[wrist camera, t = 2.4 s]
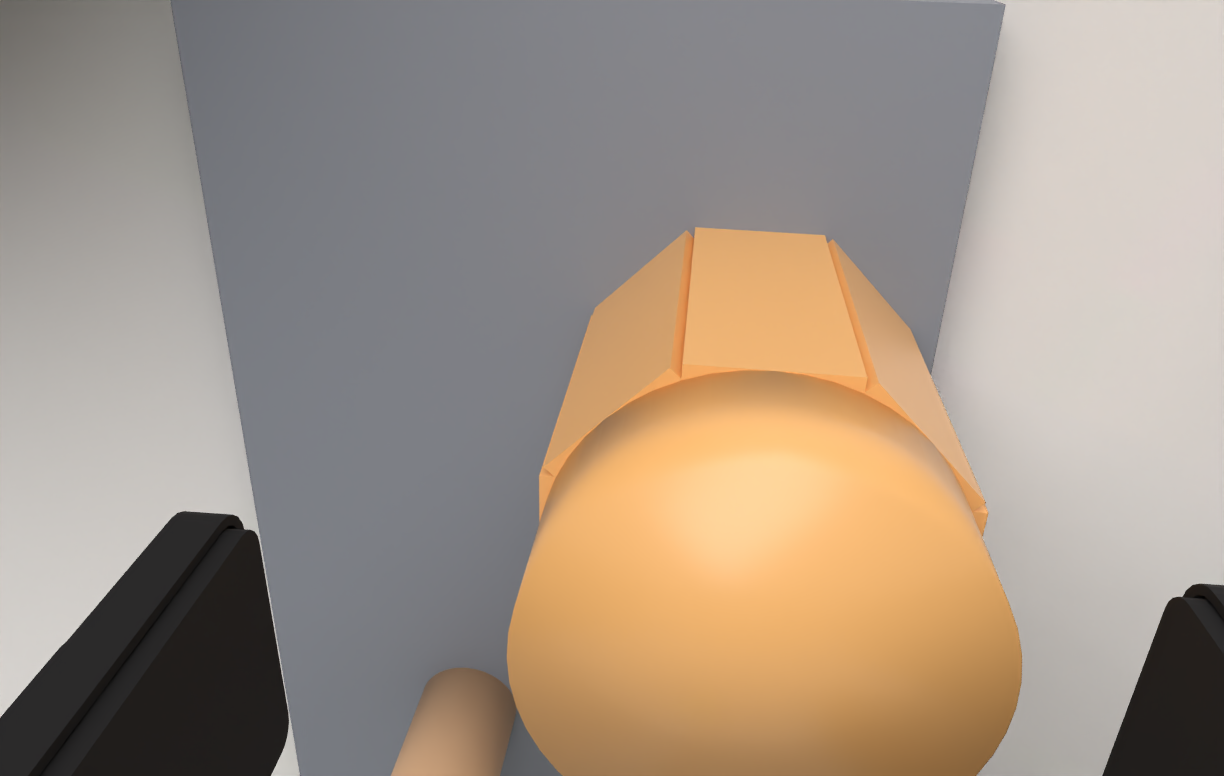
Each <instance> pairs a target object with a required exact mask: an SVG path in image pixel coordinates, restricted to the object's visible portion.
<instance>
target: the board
mask: <svg viewBox="0 0 1224 776" xmlns="http://www.w3.org/2000/svg"><path fill="white" fill-rule="evenodd" d="M171 6H172V12H173V18H174V24H175V30H176V36H177V42H178V48H179V54H180V60H181V66H182V72H183V78H184V84H185V90H186V96H187V102H188V108H189V114H190V120H191V126H192V132H193V138H194V144H195V150H196V156H197V162H198V167H199V173H200V179H201V185H202V191H203V197H204V203H205V209H206V215H207V221H208V227H209V233H210V239H211V245H212V251H213V257H214V263H215V269H216V275H217V281H218V287H219V293H220V299H221V305H222V311H223V317H224V323H225V329H226V335H227V341H228V347H229V353H230V359H231V365H232V371H233V377H234V383H235V389H236V395H237V401H238V407H239V413H240V419H241V425H242V430H243V436H244V442H245V448H246V454H247V460H248V466H249V472H250V478H251V484H252V490H253V496H254V502H255V508H256V514H257V520H258V526H259V532H260V538H261V544H262V550H263V556H264V562H265V568H266V574H267V580H268V586H269V592H270V598H271V604H272V610H273V616H274V622H275V628H276V634H277V640H278V646H279V652H280V658H281V664H282V670H283V676H284V682H285V688H286V693H287V699H288V705H289V711H290V717H291V723H292V729H293V735H294V741H295V747H296V753H297V759H298V765H299V771H300V776H562V775H561V774H560V773H559V772H558V771H557V770H556V769H555V768H554V766H553V765H552V764H551V763H550V762H549V760H548V759H547V758H546V757H545V756H544V755H543V753H542V752H541V751H540V750H539V748H538V746H537V745H536V743H535V742H534V740H533V739H532V737H531V736H530V734H529V732H528V731H527V729H526V727H525V725H524V723H523V721H522V718H521V716H520V714H519V712H518V710H517V707H516V704H515V701H514V697H513V694H512V690H511V687H510V683H509V675H508V666H507V643H508V631H509V627H510V623H511V618H512V614H513V610H514V606H515V603H516V600H517V596H518V593H519V590H520V586H521V583H522V580H523V576H524V573H525V570H526V566H527V563H528V560H529V556H530V553H531V550H532V546H533V543H534V540H535V536H536V533H537V530H538V526H539V475H540V472H541V469H542V466H543V462H544V459H545V456H546V453H547V450H548V447H549V444H550V441H551V438H552V435H553V432H554V429H555V426H556V423H557V419H558V416H559V413H560V410H561V407H562V404H563V401H564V398H565V395H566V392H567V389H568V386H569V383H570V380H571V377H572V373H573V370H574V367H575V364H576V361H577V358H578V355H579V352H580V349H581V346H582V343H583V340H584V337H585V334H586V330H587V327H588V324H589V321H590V318H591V315H593V312H594V309H595V307H597V306H598V305H599V304H600V303H601V302H603V301H604V300H605V299H606V298H607V297H608V296H610V295H611V294H612V293H613V292H614V291H615V290H617V289H618V288H619V287H620V286H621V285H623V284H624V283H625V282H626V281H627V280H628V279H630V278H631V277H632V276H633V275H634V274H636V273H637V272H638V271H639V270H640V269H641V268H643V267H644V266H645V265H646V264H647V263H648V262H650V261H651V260H652V259H653V258H654V257H656V256H657V255H658V254H659V253H660V252H661V251H663V250H664V249H665V248H666V247H667V246H669V245H670V244H671V243H672V242H673V241H674V240H676V239H677V238H678V237H679V236H680V235H681V234H683V233H684V232H685V231H686V230H687V231H688V232H689V233H690V234H691V236H692V237H693V238H694V235H695V227H699V228H715V229H731V230H748V231H764V232H781V233H797V234H814V235H825V237H826V241H827V243H829V242H830V241H831V240H832V239H833V240H834V241H835V242H836V243H837V244H838V245H839V247H840V248H841V249H842V250H843V251H844V252H845V254H846V255H847V256H848V257H849V258H850V259H851V261H852V262H853V263H854V264H855V265H856V266H857V268H858V269H859V270H860V271H861V272H862V273H863V275H864V276H865V277H866V278H867V279H868V280H869V282H870V283H871V284H872V285H873V286H874V287H875V289H876V290H877V291H878V292H879V293H880V294H881V296H882V297H883V298H884V299H885V300H886V301H887V303H888V304H889V305H890V306H891V307H892V308H893V310H894V311H895V312H896V313H897V314H898V315H899V317H900V318H901V319H902V320H903V321H904V322H905V324H906V325H907V326H908V327H909V328H910V329H911V332H912V334H913V336H914V339H915V341H916V343H917V345H918V348H919V350H920V352H921V355H922V357H923V359H924V362H925V364H926V366H927V369H928V371H929V373H930V375H931V371H932V366H933V361H934V356H935V351H936V346H937V341H938V336H939V332H940V327H941V322H942V317H943V312H944V307H945V302H946V297H947V292H948V287H949V282H950V277H951V272H952V267H953V262H954V257H955V252H956V247H957V242H958V238H959V233H960V228H961V223H962V218H963V213H964V208H965V203H966V198H967V193H968V188H969V183H970V178H971V173H972V168H973V163H974V158H975V153H976V148H977V144H978V139H979V134H980V129H981V124H982V119H983V114H984V109H985V104H986V99H987V94H988V89H989V84H990V79H991V74H992V69H993V64H994V59H995V54H996V50H997V45H998V40H999V35H1000V30H1001V25H1002V20H1003V15H1004V10H1005V4H1003V3H1000V2H997V1H994V0H171Z"/></svg>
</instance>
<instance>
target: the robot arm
mask: <svg viewBox="0 0 1224 776" xmlns="http://www.w3.org/2000/svg"><path fill="white" fill-rule="evenodd" d="M288 725H289V717H288V709H287V703H286V697H285V691H284V685H283V679H282V674H281V668H280V662H279V656H278V650H277V644H276V638H275V632H274V626H273V621H272V615H271V609H270V603H269V597H268V591H267V585H266V579H265V574H264V568H263V562H262V556H261V550H260V544H259V540H258V536H257V535H256V533H255V532H254V531H252V530H244V528H243V524H242V522H241V521H240V519H239V518H238V517H237V516H235V515H228V514H214V513H200V512H186V511H183V512H180V513H177V514H176V515H175V516H174V517H172V518H171V519H170V520H169V522H168V523H167V524H166V525H165V526H164V528H163V529H162V530H161V531H160V532H159V533H158V535H157V536H156V537H155V538H154V539H153V541H152V542H151V543H150V544H149V545H148V546H147V548H146V549H145V550H144V551H143V552H142V553H141V555H140V556H139V557H138V558H137V559H136V561H135V562H134V563H133V564H132V565H131V566H130V568H129V569H128V570H127V571H126V572H125V573H124V575H123V576H122V577H121V578H120V579H119V581H118V582H117V583H116V584H115V585H114V586H113V588H112V589H111V590H110V591H109V592H108V594H107V595H106V596H105V597H104V598H103V599H102V601H101V602H100V603H99V604H98V605H97V606H96V608H95V609H94V610H93V611H92V612H91V614H90V615H89V616H88V617H87V618H86V619H85V621H84V622H83V623H82V624H81V625H80V627H79V628H78V629H77V630H76V631H75V632H74V634H73V635H72V636H71V637H70V638H69V639H68V641H67V642H66V643H65V644H63V645H62V646H61V647H60V648H59V649H58V651H57V652H56V653H55V654H54V655H53V656H52V658H51V659H50V660H49V661H48V662H47V663H46V665H45V666H44V667H43V668H42V669H41V671H40V672H39V673H38V674H37V675H36V676H35V678H34V679H33V680H32V681H31V682H30V683H29V685H28V686H27V687H26V688H25V689H24V690H23V692H22V693H21V694H20V695H19V696H18V698H17V699H16V700H15V701H14V702H13V703H12V705H11V706H10V707H9V708H8V709H7V710H6V712H5V713H4V714H3V715H2V716H1V718H0V776H271V774H272V772H273V770H274V768H275V766H276V764H277V762H278V760H279V758H280V755H281V753H282V751H283V748H284V746H285V742H286V739H287V733H288ZM1103 776H1224V585H1211V584H1196V585H1192V586H1191V587H1190V588H1189V589H1188V590H1186V592H1185V594H1184V596H1183V597H1175V598H1172V599H1171V600H1170V601H1169V602H1168V604H1167V606H1166V607H1165V610H1164V612H1163V615H1162V618H1161V620H1160V623H1159V626H1158V628H1157V631H1156V634H1155V636H1154V639H1153V642H1152V644H1151V647H1150V650H1149V653H1148V655H1147V658H1146V661H1145V663H1144V666H1143V669H1142V671H1141V674H1140V677H1139V679H1138V682H1137V685H1136V687H1135V690H1134V693H1133V695H1132V698H1131V701H1130V703H1129V706H1128V709H1127V711H1126V714H1125V717H1124V719H1123V722H1122V725H1121V727H1120V730H1119V733H1118V735H1117V738H1116V741H1115V743H1114V746H1113V749H1112V751H1111V754H1110V757H1109V759H1108V762H1107V765H1106V767H1105V770H1104V773H1103Z"/></svg>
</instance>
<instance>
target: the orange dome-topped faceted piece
mask: <svg viewBox="0 0 1224 776" xmlns="http://www.w3.org/2000/svg"><path fill="white" fill-rule="evenodd" d="M985 503H986V502H985V500H984V497H983V495H982V493H981V491H980V488H979V486H978V484H977V481H976V479H975V477H974V474H973V472H972V470H971V468H970V465H969V463H968V461H967V458H966V456H965V454H964V451H963V449H962V447H961V445H960V442H959V440H958V438H957V435H956V433H955V431H954V428H953V426H952V424H951V421H950V419H949V417H948V415H947V412H946V410H945V408H944V405H943V403H942V401H941V398H940V396H939V394H938V392H937V389H936V387H935V385H934V382H933V380H932V378H931V375H930V373H929V371H928V369H927V366H926V364H925V362H924V359H923V357H922V355H921V352H920V350H919V348H918V345H917V343H916V341H915V339H914V336H913V334H912V332H911V329H910V328H909V327H908V326H907V325H906V324H905V322H904V321H903V320H902V319H901V318H900V317H899V315H898V314H897V313H896V312H895V311H894V310H893V308H892V307H891V306H890V305H889V304H888V303H887V301H886V300H885V299H884V298H883V297H882V296H881V294H880V293H879V292H878V291H877V290H876V289H875V287H874V286H873V285H872V284H871V283H870V282H869V280H868V279H867V278H866V277H865V276H864V275H863V273H862V272H861V271H860V270H859V269H858V268H857V266H856V265H855V264H854V263H853V262H852V261H851V259H850V258H849V257H848V256H847V255H846V254H845V252H844V251H843V250H842V249H841V248H840V247H839V245H838V244H837V243H836V242H835V241H834V240H833V239H832V240H831V241H830V242H829V243H827V241H826V237H825V235H814V234H797V233H781V232H764V231H748V230H731V229H715V228H699V227H695V235H694V238H693V237H692V236H691V234H690V233H689V232H688V231H687V230H686V231H685V232H684V233H683V234H681V235H680V236H679V237H678V238H677V239H676V240H674V241H673V242H672V243H671V244H670V245H669V246H667V247H666V248H665V249H664V250H663V251H661V252H660V253H659V254H658V255H657V256H656V257H654V258H653V259H652V260H651V261H650V262H648V263H647V264H646V265H645V266H644V267H643V268H641V269H640V270H639V271H638V272H637V273H636V274H634V275H633V276H632V277H631V278H630V279H628V280H627V281H626V282H625V283H624V284H623V285H621V286H620V287H619V288H618V289H617V290H615V291H614V292H613V293H612V294H611V295H610V296H608V297H607V298H606V299H605V300H604V301H603V302H601V303H600V304H599V305H598V306H597V307H595V309H594V312H593V315H591V318H590V321H589V324H588V327H587V330H586V334H585V337H584V340H583V343H582V346H581V349H580V352H579V355H578V358H577V361H576V364H575V367H574V370H573V373H572V377H571V380H570V383H569V386H568V389H567V392H566V395H565V398H564V401H563V404H562V407H561V410H560V413H559V416H558V419H557V423H556V426H555V429H554V432H553V435H552V438H551V441H550V444H549V447H548V450H547V453H546V456H545V459H544V462H543V466H542V469H541V472H540V475H539V526H538V530H537V533H536V536H535V540H534V543H533V546H532V550H531V553H530V556H529V560H528V563H527V566H526V570H525V573H524V576H523V580H522V583H521V586H520V590H519V593H518V596H517V600H516V603H515V606H514V610H513V614H512V618H511V623H510V627H509V631H508V643H507V666H508V675H509V683H510V687H511V690H512V694H513V697H514V701H515V704H516V707H517V710H518V712H519V714H520V716H521V718H522V721H523V723H524V725H525V727H526V729H527V731H528V732H529V734H530V736H531V737H532V739H533V740H534V742H535V743H536V745H537V746H538V748H539V750H540V751H541V752H542V753H543V755H544V756H545V757H546V758H547V759H548V760H549V762H550V763H551V764H552V765H553V766H554V768H555V769H556V770H557V771H558V772H559V773H560V774H561V775H562V776H976V775H977V774H978V773H979V771H980V770H981V769H982V768H983V767H984V765H985V764H986V763H987V762H988V760H989V759H990V758H991V757H992V756H993V754H994V752H995V751H996V749H997V747H998V746H999V744H1000V742H1001V741H1002V739H1003V737H1004V736H1005V734H1006V732H1007V730H1008V727H1009V725H1010V722H1011V720H1012V717H1013V715H1014V712H1015V710H1016V706H1017V701H1018V696H1019V692H1020V687H1021V678H1022V652H1021V646H1020V640H1019V633H1018V628H1017V625H1016V623H1015V620H1014V617H1013V614H1012V611H1011V608H1010V605H1009V602H1008V600H1007V597H1006V595H1005V592H1004V590H1003V588H1002V585H1001V583H1000V580H999V578H998V575H997V573H996V570H995V568H994V565H993V563H992V560H991V558H990V555H989V553H988V550H987V548H986V546H985V543H984V541H983V538H982V536H983V532H984V528H985V524H986V521H987V517H988V511H987V509H986V506H985Z"/></svg>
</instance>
